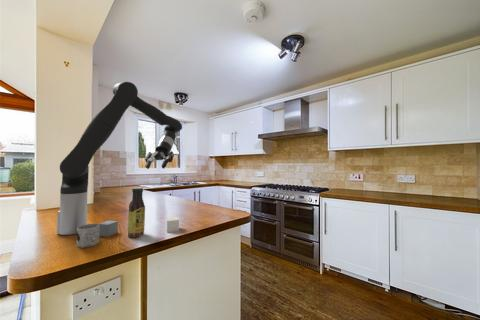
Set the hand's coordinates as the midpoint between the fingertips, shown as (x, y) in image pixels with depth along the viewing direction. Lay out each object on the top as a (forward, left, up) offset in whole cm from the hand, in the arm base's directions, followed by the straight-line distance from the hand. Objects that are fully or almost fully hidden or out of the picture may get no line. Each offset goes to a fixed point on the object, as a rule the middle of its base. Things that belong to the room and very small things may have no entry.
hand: (154, 167), depth 99 cm
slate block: (-14, -14, -28) cm, 35 cm away
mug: (-14, -26, -29) cm, 41 cm away
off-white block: (+12, -9, -28) cm, 32 cm away
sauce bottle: (-1, -16, -28) cm, 33 cm away
